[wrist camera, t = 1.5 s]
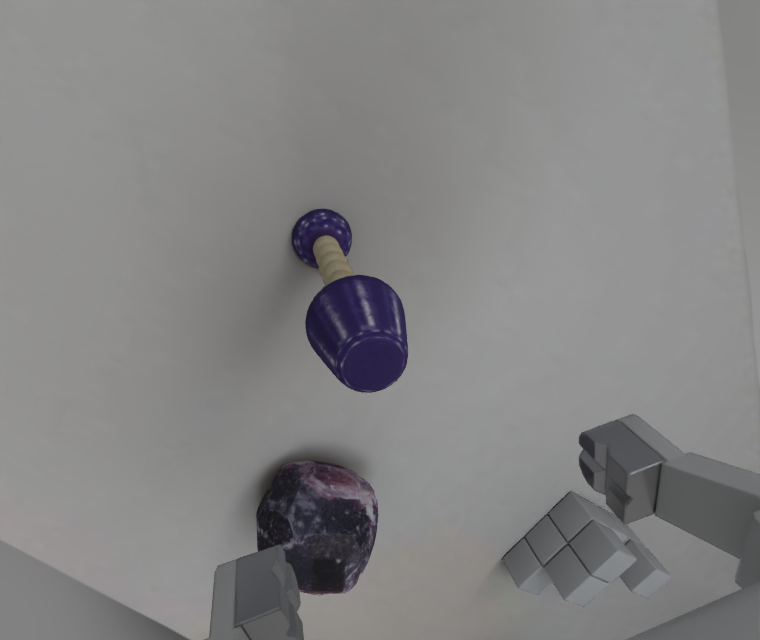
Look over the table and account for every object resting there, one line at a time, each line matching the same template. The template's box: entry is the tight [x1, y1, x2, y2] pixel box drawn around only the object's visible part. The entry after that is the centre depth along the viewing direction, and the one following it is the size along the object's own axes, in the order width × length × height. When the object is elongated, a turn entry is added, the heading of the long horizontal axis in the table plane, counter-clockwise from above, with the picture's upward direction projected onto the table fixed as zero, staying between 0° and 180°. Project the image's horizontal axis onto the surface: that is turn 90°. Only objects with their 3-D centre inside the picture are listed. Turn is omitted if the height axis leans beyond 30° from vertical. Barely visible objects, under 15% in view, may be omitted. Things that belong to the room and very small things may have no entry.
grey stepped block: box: [503, 492, 672, 607], centre depth 52 cm, size 12×12×8 cm
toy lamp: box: [292, 209, 408, 392], centre depth 25 cm, size 5×5×17 cm
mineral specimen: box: [256, 461, 378, 596], centre depth 38 cm, size 10×10×10 cm
